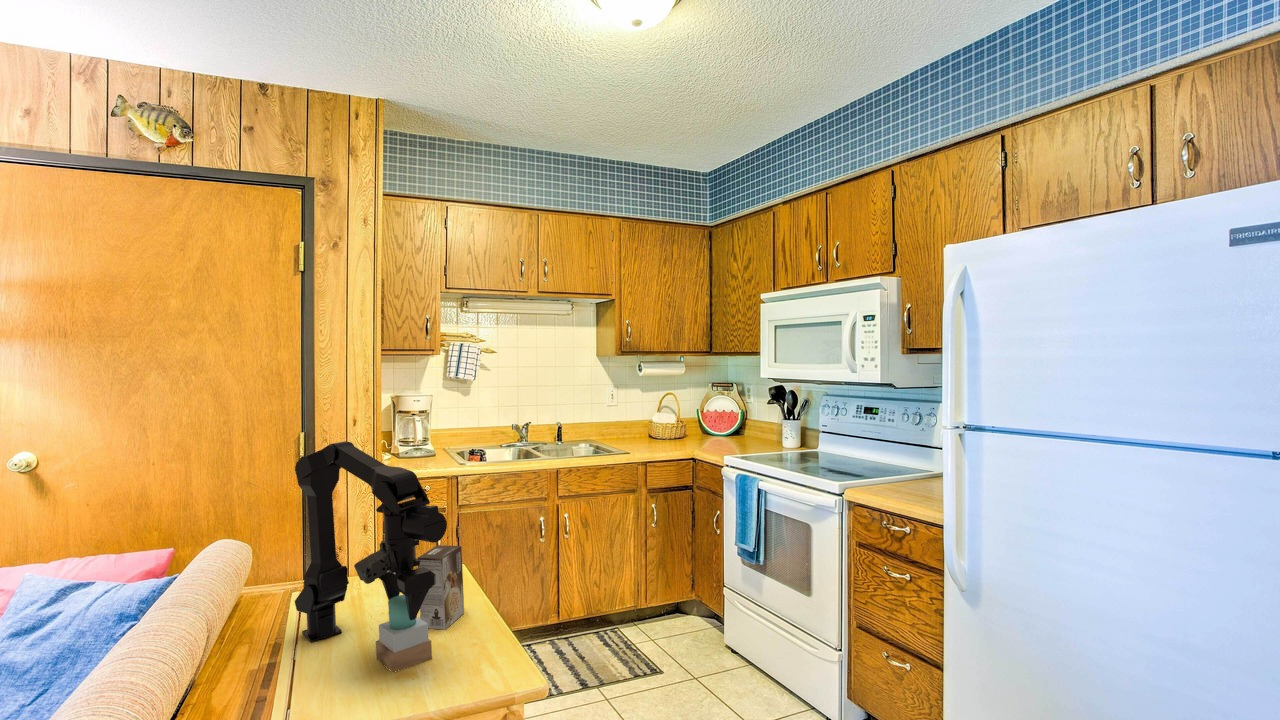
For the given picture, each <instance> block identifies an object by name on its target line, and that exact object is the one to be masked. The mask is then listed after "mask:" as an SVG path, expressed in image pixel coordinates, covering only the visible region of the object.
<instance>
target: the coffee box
mask: <svg viewBox="0 0 1280 720" xmlns="http://www.w3.org/2000/svg"><path fill="white" fill-rule="evenodd" d="M462 547H463V546H462V545H442V544H441V545H439V544H438V545H436V546H434V547H432V548H431V549H429V550H427V551H426V552H424V553H422V554H421V555H419V556H418V557H416V558H417V559H418V560H420V565H419V566H417V568H421V567H425V568H426V569H428V570H430V571H432V572H433V573H434V574H436V584H435V585H434V586H432V588H430V589H429V591H428V593H427V595H426V597H425V599H424V601H423V603H422V605H421V608H420V610H419V619H421V620H423V621H424V622H426V623H427V624H428V628H429V629H430V630H431V629H433V630H448V629H449V627H450V626H451V625H453V623H455V622H456V621H457V620H458V619H459V618H460V617H462V616H463V615H464V614H465V600H464V598H465V597H464V596H465V595H464V574H463V556H462V555H463V553H462V552H463V551H462ZM429 629H428V630H429Z"/></svg>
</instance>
